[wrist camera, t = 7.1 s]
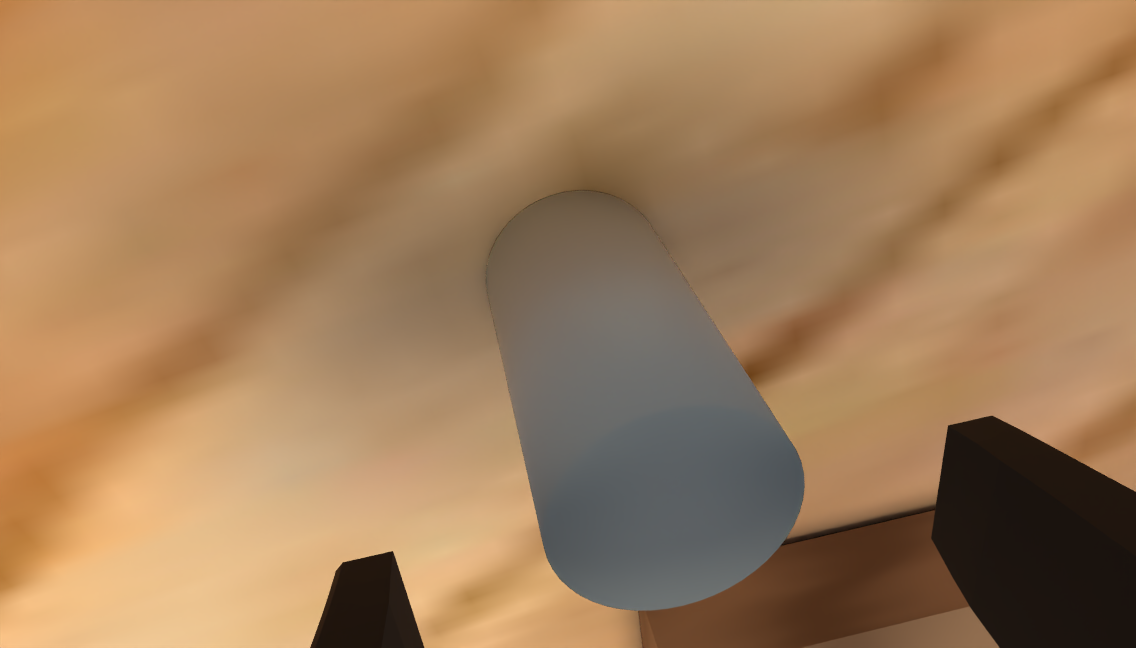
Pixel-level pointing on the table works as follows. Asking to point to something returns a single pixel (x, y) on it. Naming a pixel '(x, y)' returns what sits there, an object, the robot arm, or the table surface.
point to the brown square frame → (833, 598)
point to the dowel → (633, 411)
